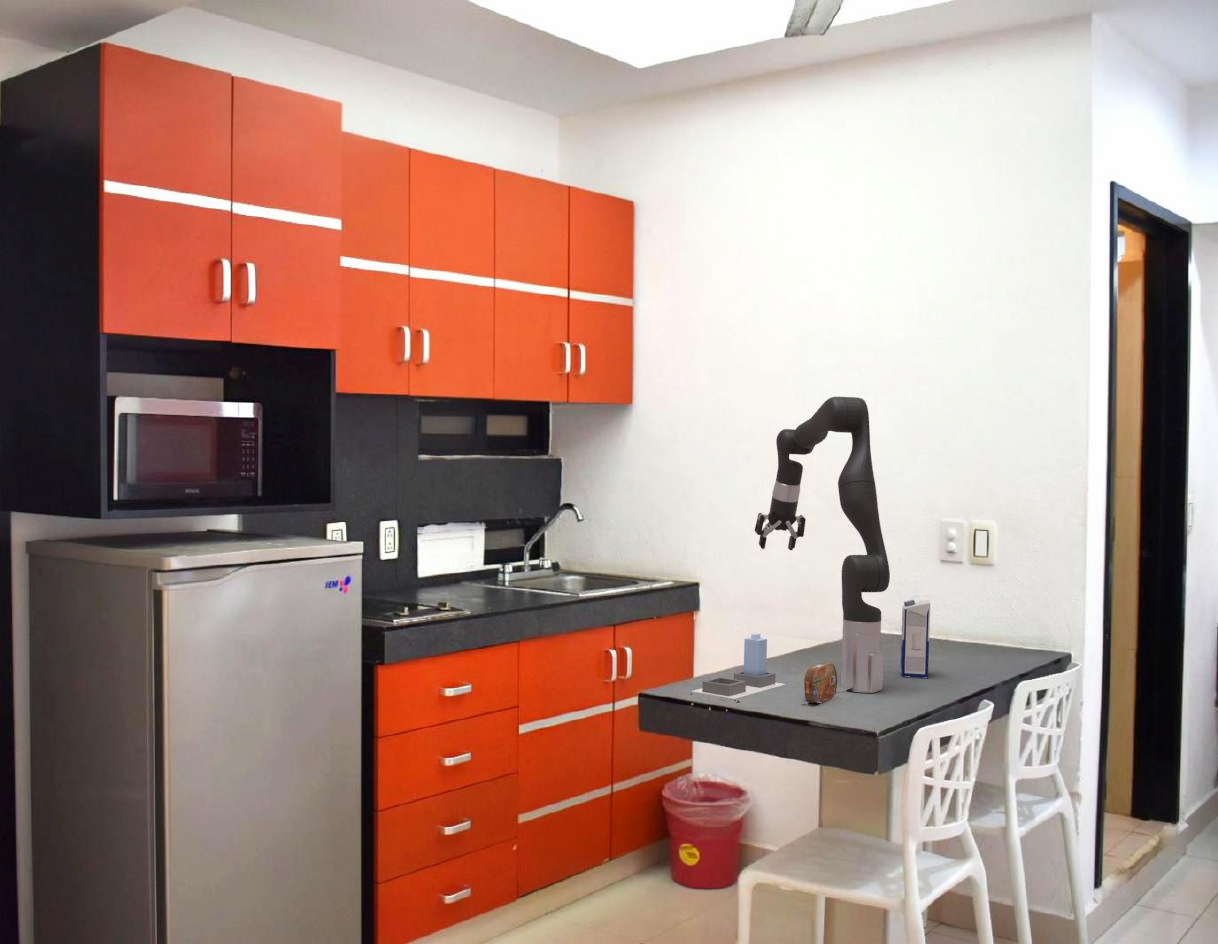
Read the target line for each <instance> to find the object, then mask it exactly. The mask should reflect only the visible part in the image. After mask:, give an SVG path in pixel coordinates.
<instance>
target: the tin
mask: <svg viewBox="0 0 1218 944" xmlns="http://www.w3.org/2000/svg"><path fill="white" fill-rule="evenodd" d="M803 680H804V681H803V682H804V683H803V684H804V697H805V698H804V699H805V700H806V701H808V702H812V703H811V704H814V703H817V705H819V704H818V703H819V702H824V703H826V702H827V700H828V701H830V700H832V699H833V698H834V697H835V694H836V693H837V688H838V674H837V668H836V666H835V664H833V663H831V662H830V663H824V662H823V663H820V664H817V665H815V666H812V667H809V668H808V669H807V670H806V672H805V674H804V679H803ZM831 698H832V699H831ZM829 699H830V700H829ZM825 701H826V702H825Z"/></svg>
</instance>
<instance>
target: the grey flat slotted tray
mask: <svg viewBox="0 0 1218 944" xmlns="http://www.w3.org/2000/svg"><path fill="white" fill-rule="evenodd" d="M776 675H777V674H776V673H774V672H768V671H766V675H763V676H760V677H758V676H752V675H746V674H744V670H741V671H738V672H737V671H736V672H734V673H733V678H730V677H729V678H727V677H721V676H717V677H714V678H710V679H707V680H702V687H701V688H697V689H695V690H692V691H691V692H692V693H698V694H703V695H709V696H715V697H720V698H724V699H729V700H733V701H736V700H737V699H739V698H742V697H746V696H750V695H753V694H754V695H755V694H757V693H760V692H765V691H767V690H771V689H775V688H778V687H781V686H786V685H787V684H786V683H781V682H776Z"/></svg>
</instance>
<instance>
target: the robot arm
mask: <svg viewBox="0 0 1218 944" xmlns="http://www.w3.org/2000/svg"><path fill="white" fill-rule="evenodd" d="M870 429H871V428H870V415H869V408H868V405H867V402H866V401H865V400H864V398H861V397H854V396H831V397H829V398H828V399H826V400H825V401H824V402H823V403H822V404H821V405H820V406H819V408H818V409H817V410H816V412H814V414H813V415H812V416H811V417H810V418H808V419H807V420H806V421H804V422H802V423H800V424H799V425H798V426H797V427H796V428H795V429H791V428H790V429H789V428H784V429H781V430H780V431H779V432H778V434H777V436H776V440H775V441H776V451H777V464H778V465H777V472H776V478H775V483H774V486H773V488H772V489H773V490H772V495H771V501H770V506H769V507H770V508H769V513H768V514H763V513H762V512H759V513H758V514H757V518H756V523H755V527H754V532H755V533H756V535H758V536H759V541H758V545H759V547H760V548H761V549H762V550H765V549H766V545H767V544H766V543H767V536H768V535H769V534H770V533H772V532H773V531H774V530H775V531H784V532H787V530H788V531H789V533H790V536H789V540H788V545H787V548H788V550H789V551H793V550H794V549H795V547H796V543H797V539H798V538H803V537H804V536H805V528H806V521H807V520H806V517H805V516H804V515H802V514H800V515H796V514H797V510H798V504H799V498H800V493H801V483H802V478H803V471H804V467H803V464H802V463H800V462H798V461H796V460H793V459H791V458H790V455H799V456H800V455H801V456H804V455H810V454H811V453H812V452H813V450H814V447H815V446H817V445H818V444H820V443H822V442H823V441H824V440H825V439H826V438H827V437H828V434H829V432H834V433H844V434H845V433H846V434H847V433H849V434H851V439H852V440H851V442H852V443H851V450H850V451H851V452H850V453H849V456H848V459H847V461H846V462H845V464H844V467H843V468H842V470H841V473H840V475H839V477H838V481H837V488H838V495H839V503H840V508H841V510H842V513H843V514H844V515H845V517H846V519H848V521H849V522H850V523H851V524H852V526H853V527H854V528H855V530H856V531H857V533H858V534H859V535H860V537H861V539H862V542H863V544H864V547H865V550H866V554H849V555H847V556H846V557H845V558H844V560H843V563H842V566H841V605H842V607H841V608H842V637H841V638H842V641H841V642H842V643H841V674H840V675H841V676H840V685H841V687H844V688H847V689H846V691H847V692H855V693H866V694H867V693H869V694H874V693H877V692H880V691H883V683H884V682H883V679H884V678H883V677H884V674H883V673H884V672H883V671H884V651H882V650H881V639H882V638H881V636H882V635H881V634H882V633H881V632H882V611H881V609H880V608H878V607H876V606H873V605H871V604H868V603H867V602H865V601H864V599H863V593H882V592H885V591H887V589H888V588H889V586H890V585H889V584H890V578H891V577H890V576H891V574H890V565H889V560H888V556H887V551H886V546H885V542H884V537H883V533H882V532H883V531H882V526H881V521H880V513H879V505H878V504H879V503H878V496H877V495H878V494H877V488H876V487H877V486H876V481H875V475H874V474H875V473H874V470H873V469H874V468H873V461H872V453H871V433H870ZM766 521H768V522H766ZM765 522H766V524H765V525H764V523H765ZM795 523H797V530H796V531H795V529H794V527H793V524H795ZM763 526H764V527H763Z"/></svg>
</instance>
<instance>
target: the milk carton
mask: <svg viewBox="0 0 1218 944" xmlns="http://www.w3.org/2000/svg"><path fill="white" fill-rule="evenodd" d="M901 611H902V614H901V617H902V618H901V642H900V643H901V647H900V671H901V672H900V677H901V676H910V677H928V678H929V656H930V655H929V651H930V650H929V649H930V627H931V626H930V623H931V601H930V600H929V599H927V600H918V601H915V599H910V600H906V601H904V602H903V605H902V610H901ZM910 677H909V678H910Z"/></svg>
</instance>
